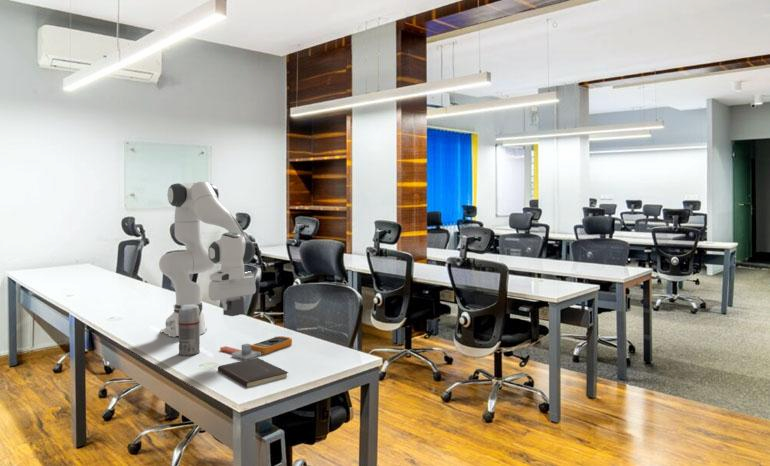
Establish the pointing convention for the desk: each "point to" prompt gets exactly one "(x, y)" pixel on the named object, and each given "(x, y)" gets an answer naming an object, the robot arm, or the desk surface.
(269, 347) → the multimeter
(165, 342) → the desk surface
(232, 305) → the brushed metal cube
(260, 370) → the hardcover book
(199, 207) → the robot arm
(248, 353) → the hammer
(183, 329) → the spray can
